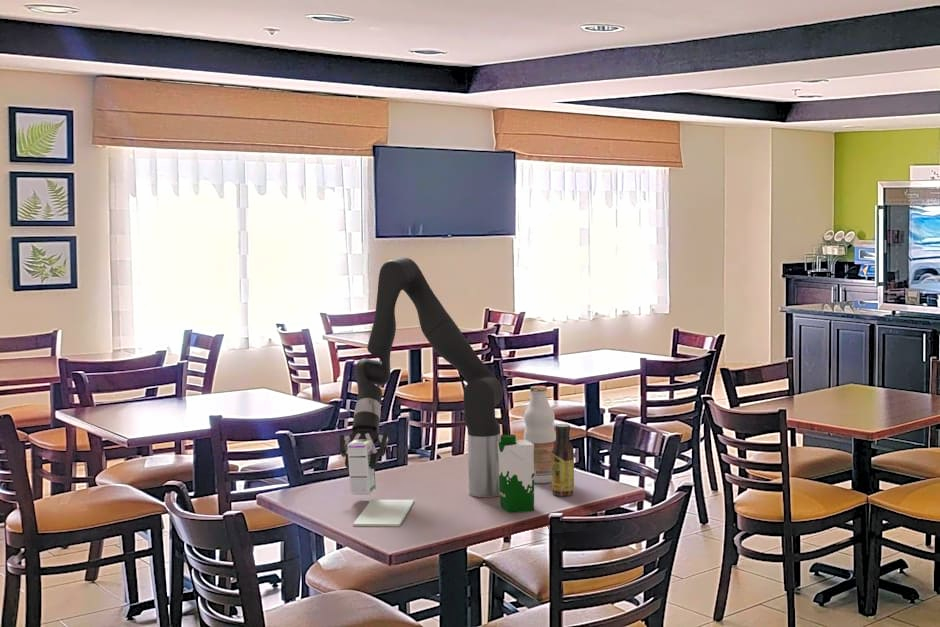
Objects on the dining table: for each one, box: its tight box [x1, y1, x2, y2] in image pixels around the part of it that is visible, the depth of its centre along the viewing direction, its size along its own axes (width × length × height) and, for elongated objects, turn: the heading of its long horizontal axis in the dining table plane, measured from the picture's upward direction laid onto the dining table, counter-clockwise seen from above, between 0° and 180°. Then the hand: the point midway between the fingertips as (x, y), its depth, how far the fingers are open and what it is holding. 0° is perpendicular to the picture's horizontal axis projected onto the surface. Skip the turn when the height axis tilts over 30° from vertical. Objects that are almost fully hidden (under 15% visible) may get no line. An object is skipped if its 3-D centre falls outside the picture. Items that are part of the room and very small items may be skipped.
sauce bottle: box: [551, 423, 575, 497], centre depth 295 cm, size 7×6×20 cm
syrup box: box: [346, 439, 377, 496], centre depth 294 cm, size 6×6×14 cm
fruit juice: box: [523, 385, 556, 484], centre depth 313 cm, size 9×9×28 cm
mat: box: [352, 499, 415, 527], centre depth 281 cm, size 12×24×1 cm, turn 174°
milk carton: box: [497, 433, 535, 514], centre depth 282 cm, size 9×9×20 cm
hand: (360, 467), depth 293 cm, fingers closed on syrup box, 6 cm apart
